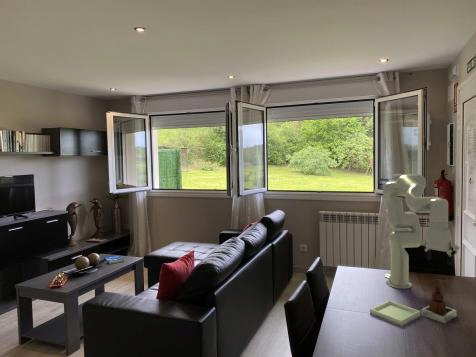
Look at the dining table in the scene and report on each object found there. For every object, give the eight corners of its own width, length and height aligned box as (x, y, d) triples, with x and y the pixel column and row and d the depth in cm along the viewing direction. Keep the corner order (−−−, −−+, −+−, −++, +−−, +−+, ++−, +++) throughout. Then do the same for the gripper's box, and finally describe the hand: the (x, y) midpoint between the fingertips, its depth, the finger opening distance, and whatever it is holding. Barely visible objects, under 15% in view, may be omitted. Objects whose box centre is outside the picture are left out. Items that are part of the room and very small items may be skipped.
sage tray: (370, 313, 174) (370, 308, 174) (389, 305, 183) (389, 300, 183) (401, 326, 161) (401, 321, 161) (420, 316, 170) (420, 311, 170)
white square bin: (421, 315, 171) (421, 309, 171) (433, 308, 178) (433, 302, 177) (444, 323, 163) (444, 317, 162) (456, 316, 169) (456, 310, 169)
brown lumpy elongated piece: (436, 319, 167) (436, 287, 165) (426, 314, 172) (427, 283, 171) (448, 317, 168) (448, 285, 167) (438, 312, 174) (438, 281, 173)
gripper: (416, 224, 173) (416, 259, 173) (454, 229, 158) (454, 267, 159) (425, 222, 177) (425, 256, 178) (462, 226, 162) (463, 264, 163)
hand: (439, 261), depth 168 cm, fingers open, 9 cm apart
